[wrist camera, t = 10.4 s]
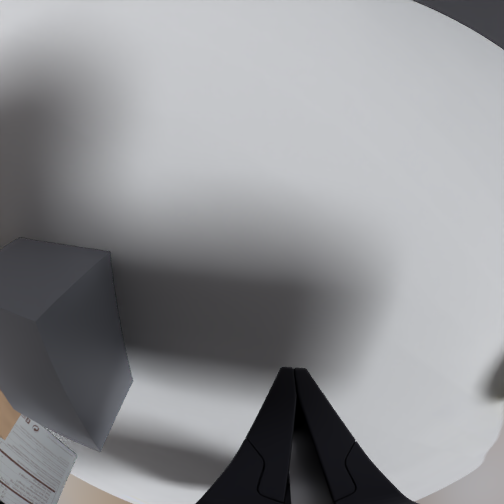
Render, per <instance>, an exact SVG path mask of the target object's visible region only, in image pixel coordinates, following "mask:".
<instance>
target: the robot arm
mask: <svg viewBox="0 0 504 504" xmlns="http://www.w3.org/2000/svg"><path fill="white" fill-rule="evenodd" d="M0 504H5V503H4V502H3V501H1V500H0ZM196 504H418V503H416V502H414V501H412V500H410V499H408V498H407V497H406V496H404V495H403V494H402V493H401V492H400V491H399V490H398V489H397V488H396V487H395V486H394V485H393V484H392V483H391V482H390V481H389V480H388V479H387V478H386V477H385V476H384V475H383V474H382V472H381V471H380V470H379V469H378V468H377V467H376V466H375V465H374V464H373V462H372V461H371V460H370V459H369V458H368V456H367V455H366V454H365V452H364V451H363V450H362V448H361V447H360V446H359V444H358V443H357V442H355V439H354V437H353V436H352V434H351V433H350V431H349V430H348V429H347V427H346V426H345V424H344V423H343V421H342V420H341V419H340V417H339V416H338V414H337V413H336V411H335V410H334V409H333V407H332V406H331V404H330V403H329V401H328V400H327V398H326V397H325V395H324V394H323V393H322V391H321V390H320V388H319V387H318V385H317V384H316V382H315V381H314V379H313V378H312V377H311V375H310V374H309V372H308V371H307V369H305V368H294V369H293V368H292V367H281V368H280V370H279V372H278V374H277V376H276V379H275V381H274V383H273V385H272V387H271V389H270V391H269V393H268V395H267V397H266V399H265V401H264V403H263V405H262V407H261V409H260V411H259V413H258V415H257V417H256V419H255V421H254V423H253V425H252V427H251V428H250V430H249V432H248V434H247V436H246V438H245V440H244V441H243V443H242V445H241V447H240V449H239V450H238V452H237V454H236V455H235V457H234V458H233V460H232V461H231V463H230V464H229V465H228V467H227V468H226V469H225V471H224V472H223V473H222V474H221V476H220V477H219V478H218V479H217V480H216V482H215V483H214V484H213V485H212V486H211V487H210V488H209V490H208V491H207V492H206V493H205V494H204V495H203V496H202V498H201V499H200V500H199V501H198V502H197V503H196Z"/></svg>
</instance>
